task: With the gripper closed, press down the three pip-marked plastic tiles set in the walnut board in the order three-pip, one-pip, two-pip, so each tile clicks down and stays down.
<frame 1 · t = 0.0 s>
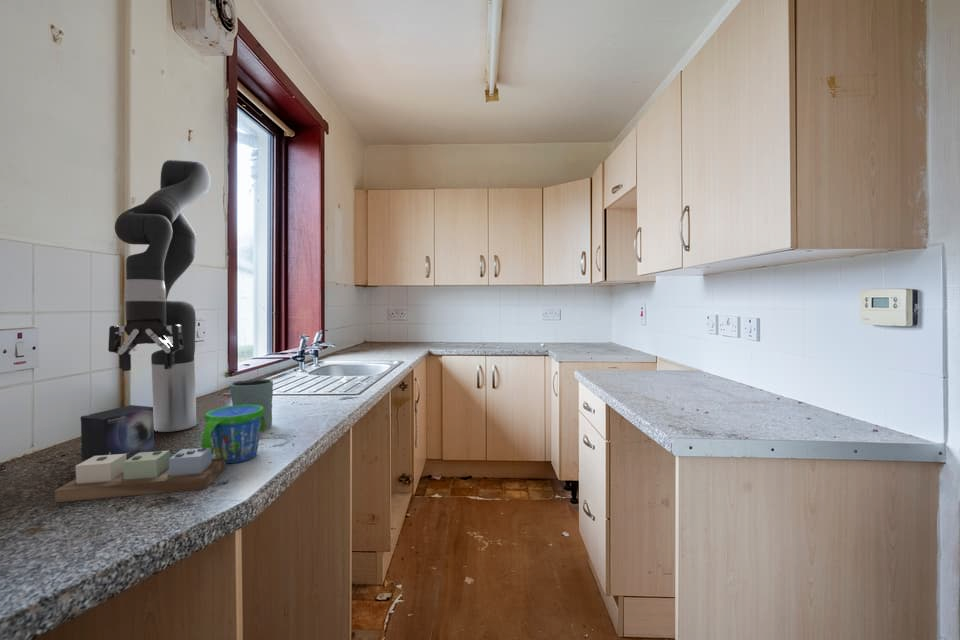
hand: (147, 369, 102), 17 cm above the countertop, tool pointing down, fingers open, 8 cm apart
tile three: (191, 461, 80), point 3 cm above the countertop, slide at 0.0 cm
snack cup: (236, 459, 92), on the countertop
small box: (120, 461, 91), on the countertop
grey green plant pot: (253, 428, 115), on the countertop
tile one: (102, 468, 77), point 3 cm above the countertop, slide at 0.0 cm
board: (148, 483, 79), on the countertop
tile two: (147, 464, 79), point 3 cm above the countertop, slide at 0.0 cm
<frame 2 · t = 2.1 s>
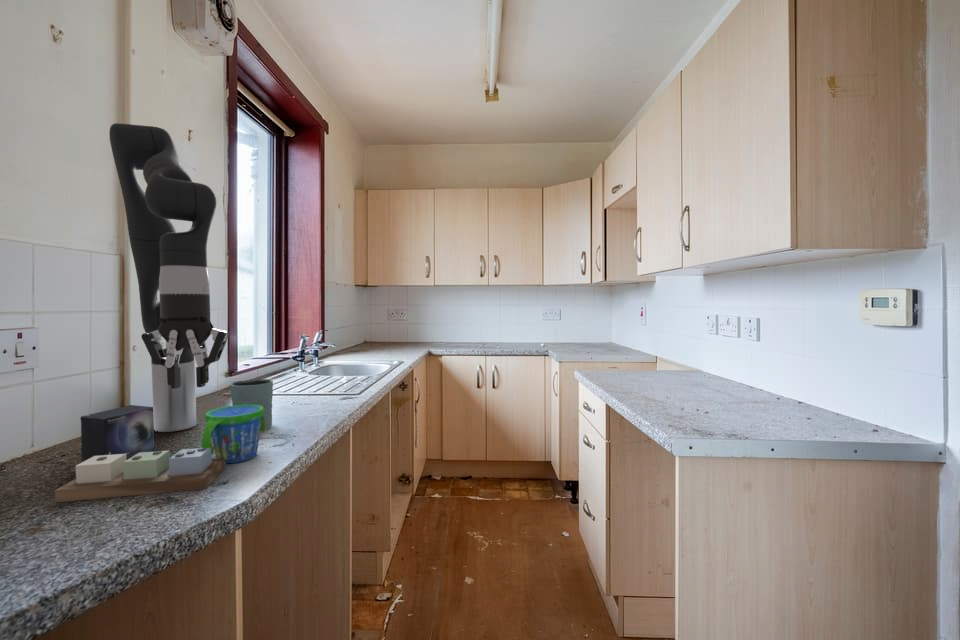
hand: (188, 386, 80), 17 cm above the countertop, tool pointing down, fingers open, 3 cm apart
nothing on the countertop moved.
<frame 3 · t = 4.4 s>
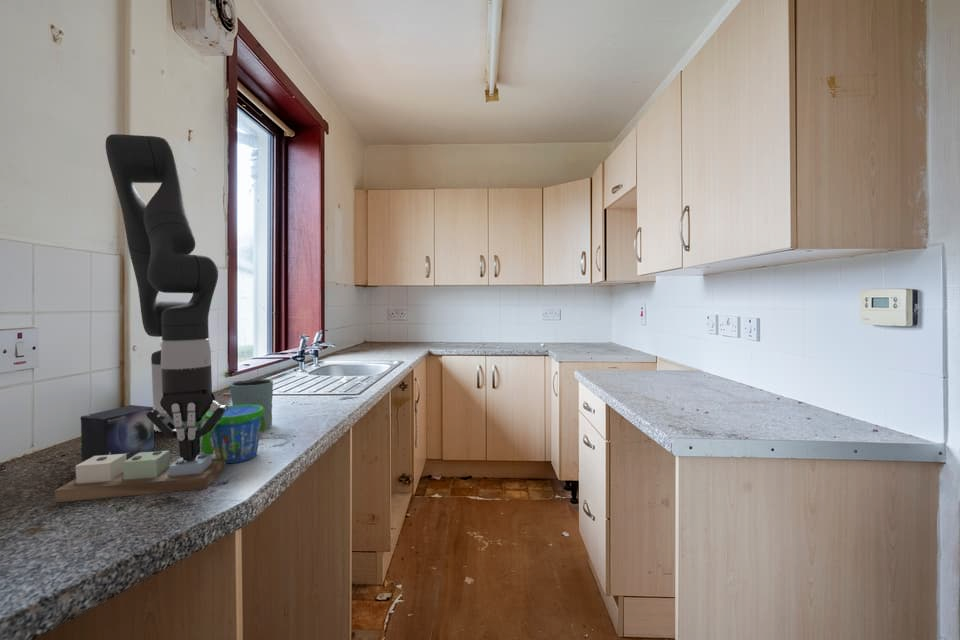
hand: (190, 458, 80), 4 cm above the countertop, tool pointing down, fingers closed
tile three: (191, 468, 80), point 2 cm above the countertop, slide at -1.3 cm, touching gripper
everything else where it was.
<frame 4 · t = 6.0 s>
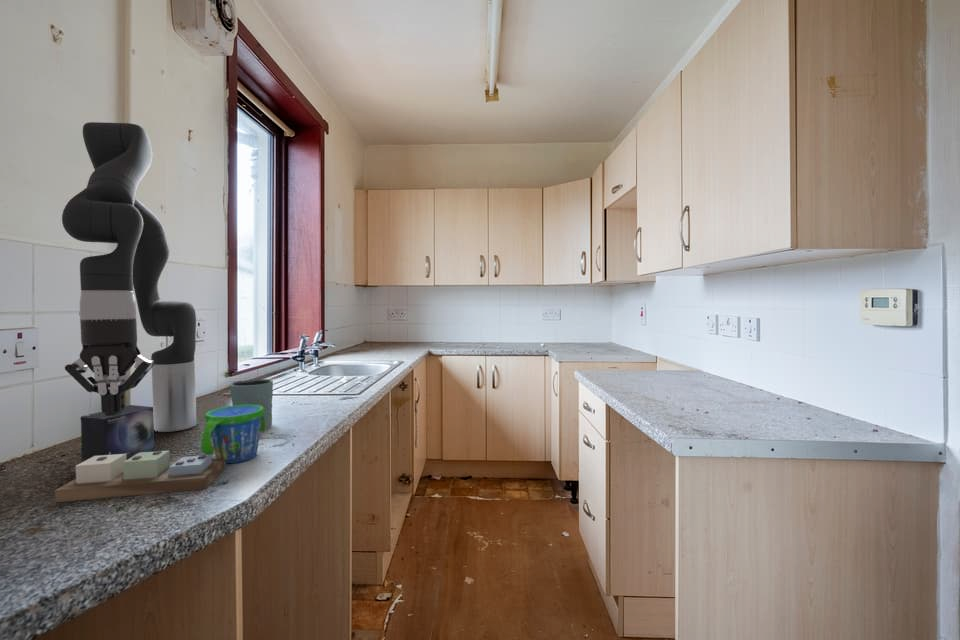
hand: (113, 414, 78), 13 cm above the countertop, tool pointing down, fingers closed
tile three: (191, 469, 80), point 2 cm above the countertop, slide at -1.5 cm
everything else where it was.
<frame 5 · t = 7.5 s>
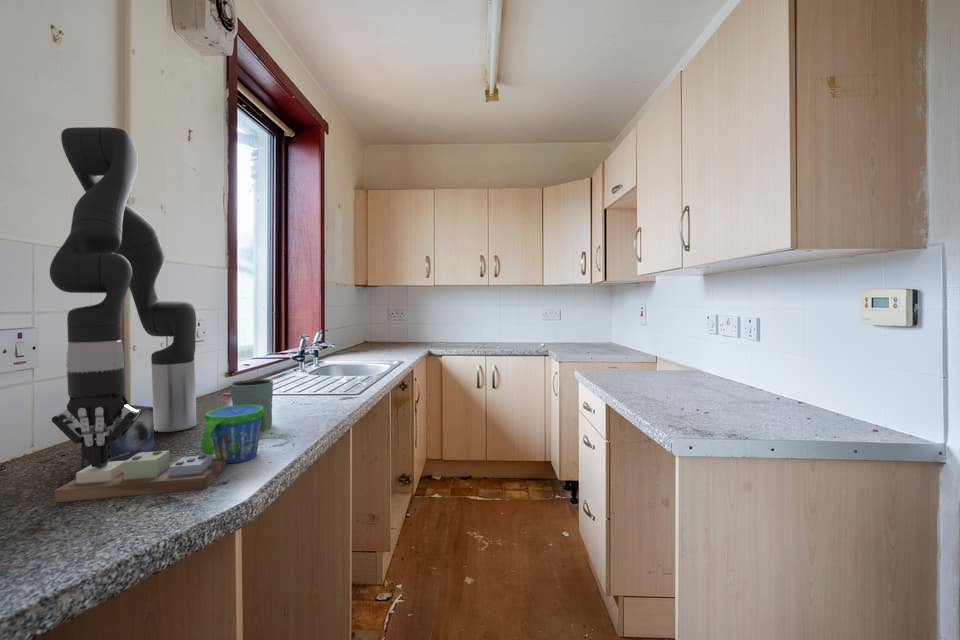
hand: (100, 465, 77), 4 cm above the countertop, tool pointing down, fingers closed
tile one: (102, 475, 77), point 2 cm above the countertop, slide at -1.3 cm, touching gripper
everything else where it was.
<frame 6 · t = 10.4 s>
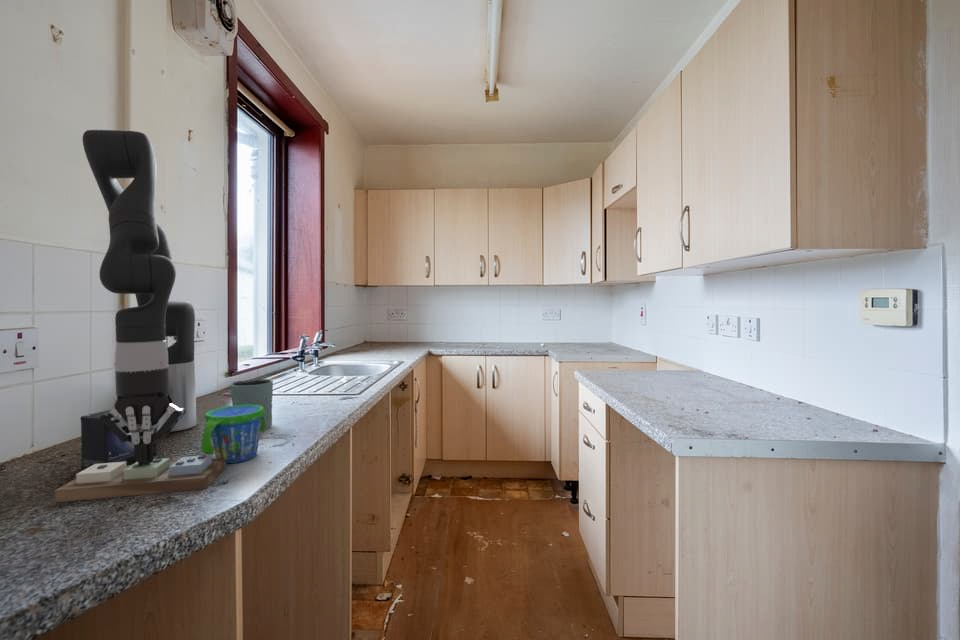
hand: (145, 463, 78), 4 cm above the countertop, tool pointing down, fingers closed
tile one: (102, 476, 77), point 2 cm above the countertop, slide at -1.5 cm
tile two: (147, 472, 79), point 2 cm above the countertop, slide at -1.4 cm, touching gripper
everything else where it was.
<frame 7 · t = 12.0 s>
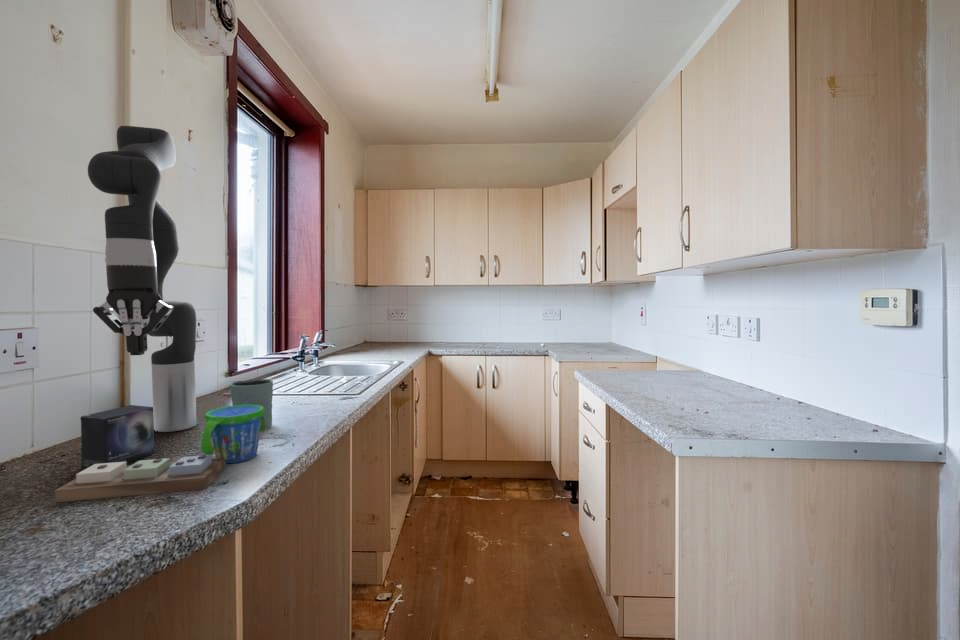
hand: (137, 354, 84), 23 cm above the countertop, tool pointing down, fingers closed
tile two: (147, 472, 79), point 2 cm above the countertop, slide at -1.5 cm
everything else where it was.
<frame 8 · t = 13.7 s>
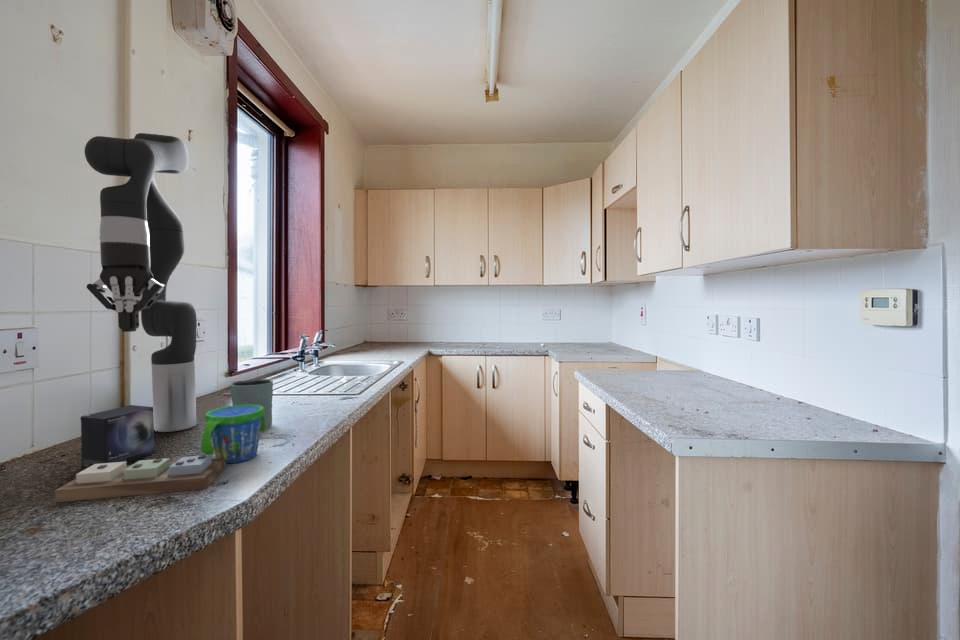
hand: (129, 331, 86), 27 cm above the countertop, tool pointing down, fingers closed
nothing on the countertop moved.
at the end: tile three slide at -1.5 cm; tile one slide at -1.5 cm; tile two slide at -1.5 cm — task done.
